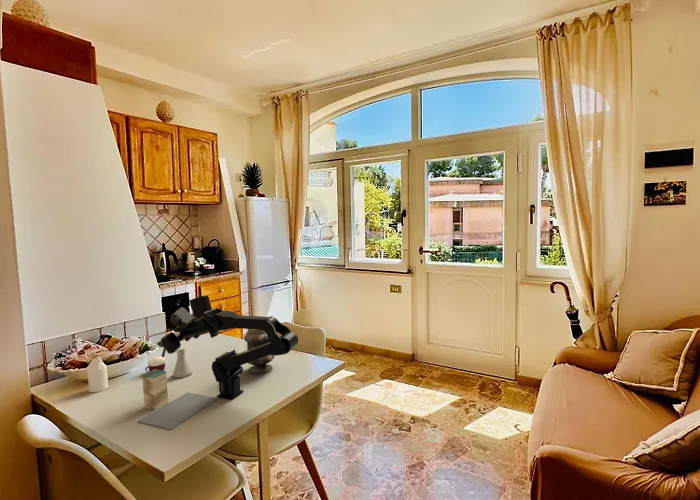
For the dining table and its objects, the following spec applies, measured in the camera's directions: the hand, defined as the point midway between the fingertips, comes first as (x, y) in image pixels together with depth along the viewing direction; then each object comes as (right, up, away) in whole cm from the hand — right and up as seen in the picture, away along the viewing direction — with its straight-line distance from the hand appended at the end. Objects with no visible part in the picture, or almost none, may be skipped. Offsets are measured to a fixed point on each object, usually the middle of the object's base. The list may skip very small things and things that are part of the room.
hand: (166, 337), depth 137 cm
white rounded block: (-25, -20, +1) cm, 32 cm away
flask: (+1, -18, +12) cm, 22 cm away
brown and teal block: (+3, -20, -12) cm, 23 cm away
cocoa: (-11, -18, +16) cm, 27 cm away
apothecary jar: (+31, -17, +15) cm, 38 cm away
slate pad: (+12, -20, -16) cm, 28 cm away
